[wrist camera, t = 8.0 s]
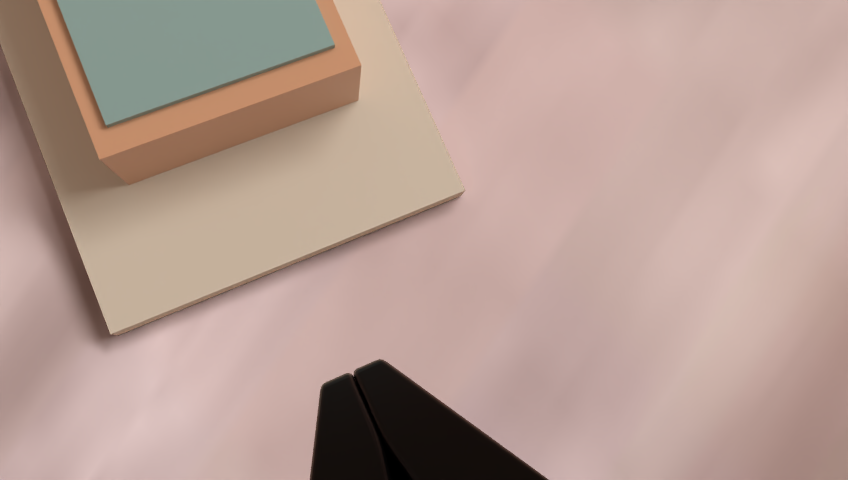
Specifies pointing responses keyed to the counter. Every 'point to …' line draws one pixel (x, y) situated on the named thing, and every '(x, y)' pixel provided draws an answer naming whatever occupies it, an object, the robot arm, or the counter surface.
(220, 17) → the block
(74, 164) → the mat
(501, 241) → the counter surface
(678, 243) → the counter surface
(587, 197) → the counter surface
